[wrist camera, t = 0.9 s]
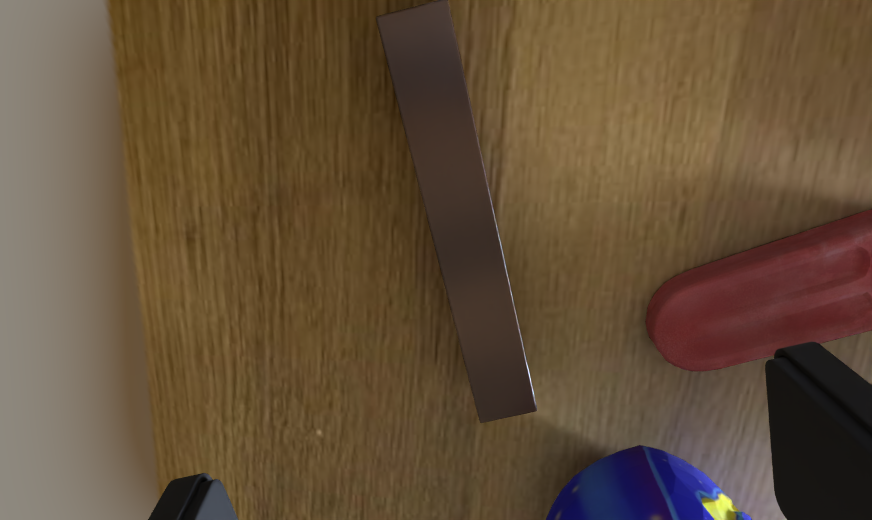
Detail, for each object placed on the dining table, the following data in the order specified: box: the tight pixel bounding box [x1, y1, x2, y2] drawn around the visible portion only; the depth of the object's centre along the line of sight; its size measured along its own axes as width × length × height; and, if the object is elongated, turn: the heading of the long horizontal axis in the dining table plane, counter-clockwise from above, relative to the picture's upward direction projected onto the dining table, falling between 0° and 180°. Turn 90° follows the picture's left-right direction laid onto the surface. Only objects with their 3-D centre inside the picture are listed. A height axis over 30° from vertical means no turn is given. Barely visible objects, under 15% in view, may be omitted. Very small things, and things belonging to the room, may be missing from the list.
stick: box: [376, 0, 537, 423], centre depth 24 cm, size 16×2×2 cm, turn 14°
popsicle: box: [646, 209, 872, 371], centre depth 26 cm, size 4×2×15 cm
